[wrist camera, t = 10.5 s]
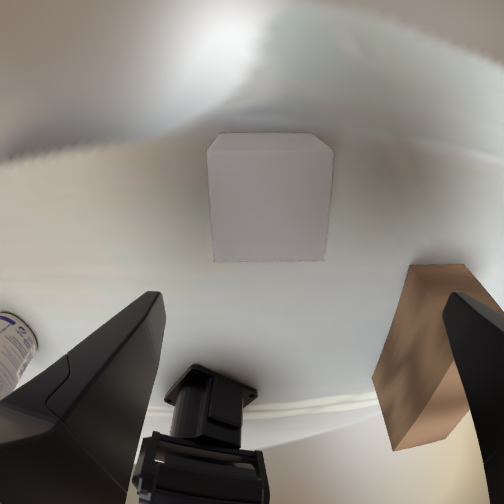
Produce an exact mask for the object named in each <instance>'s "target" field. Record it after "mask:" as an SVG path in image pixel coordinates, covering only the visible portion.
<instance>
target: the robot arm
mask: <svg viewBox="0 0 504 504" xmlns="http://www.w3.org/2000/svg"><path fill="white" fill-rule="evenodd" d="M442 319H443V322H444V326H445V329H446V333H447V336H448V340H449V344H450V348H451V351H452V355H453V358H454V361H455V364H456V367H457V370H458V373H459V376H460V379H461V382H462V385H463V388H464V391H465V395H466V398H467V401H468V404H469V408H470V411H471V415H472V418H473V422H474V426H475V430H476V434H477V438H478V442H479V446H480V450H481V455H482V459H483V463H484V470H485V474H486V480H487V486H488V492H489V499H490V504H504V316H502V315H501V314H499V313H498V312H496V311H494V310H493V309H491V308H489V307H488V306H486V305H484V304H483V303H481V302H479V301H478V300H476V299H474V298H473V297H471V296H469V295H468V294H466V293H464V292H462V291H454V292H451V293H450V295H449V297H448V300H447V302H446V305H445V307H444V309H443V313H442ZM165 323H166V313H165V307H164V302H163V296H162V294H161V293H160V292H157V291H147V292H145V293H144V294H143V295H141V296H140V297H139V298H137V299H136V300H135V301H134V302H132V303H131V304H130V305H128V306H127V307H126V308H124V309H123V310H122V311H120V312H119V313H118V314H116V315H115V316H114V317H113V318H111V319H110V320H109V321H107V322H106V323H105V324H103V325H102V326H101V327H100V328H98V329H97V330H96V331H94V332H93V333H92V334H91V335H89V336H88V337H87V338H85V339H84V340H83V341H82V342H80V343H79V344H78V345H77V346H75V347H74V348H73V349H71V350H70V351H69V352H68V353H67V354H65V355H64V356H62V357H61V358H60V359H59V360H57V361H56V362H55V363H54V364H52V365H51V366H50V367H48V368H47V369H46V370H44V371H43V372H41V373H40V374H39V375H37V376H36V377H34V378H33V379H31V380H30V381H28V382H27V383H25V384H24V385H22V386H21V387H19V388H18V389H16V390H15V391H13V392H12V393H10V394H9V395H7V396H6V397H4V398H3V399H1V400H0V504H125V502H126V497H127V491H128V487H129V482H130V477H131V473H132V469H133V464H134V460H135V456H136V451H137V447H138V443H139V439H140V435H141V431H142V427H143V423H144V419H145V415H146V411H147V407H148V403H149V400H150V396H151V392H152V388H153V385H154V381H155V377H156V374H157V370H158V366H159V360H160V354H161V347H162V341H163V335H164V329H165ZM257 397H258V392H257V390H255V389H252V388H250V387H247V386H245V385H242V384H240V383H237V382H235V381H232V380H230V379H228V378H225V377H223V376H220V375H218V374H216V373H213V372H211V371H209V370H206V369H204V368H202V367H200V366H197V365H193V366H191V367H190V368H189V369H188V370H187V372H186V373H185V374H184V375H183V376H182V377H181V378H180V379H179V381H178V382H177V383H176V384H175V385H174V386H173V387H172V388H171V390H170V391H169V392H168V393H167V394H166V395H165V398H164V401H165V402H166V403H168V404H171V405H173V406H175V409H174V414H173V419H172V425H171V430H170V435H169V436H168V435H164V434H160V432H156V431H153V434H152V437H147V438H143V441H142V445H141V450H140V454H139V457H138V461H137V464H136V467H135V471H134V474H133V479H132V483H133V485H134V486H135V487H136V489H137V490H138V492H137V494H138V495H140V497H139V504H269V501H270V491H269V484H268V479H267V475H266V469H265V464H264V458H263V453H262V451H258V450H255V451H249V450H242V449H239V448H241V428H242V424H243V408H244V407H245V406H247V405H248V404H249V403H250V402H252V401H253V400H254V399H256V398H257ZM155 460H159V461H163V462H164V463H161V462H157V461H155Z"/></svg>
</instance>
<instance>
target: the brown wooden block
mask: <svg viewBox="0 0 504 504" xmlns="http://www.w3.org/2000/svg"><path fill="white" fill-rule="evenodd" d="M454 291H462V292H464V293H466V294H468V295H469V296H471V297H473V298H474V299H476V300H478V301H479V302H481V303H483V304H484V305H486V306H488V307H489V308H491V309H493V310H494V311H496V312H498V313H499V314H501V315H502V316H504V312H503V310H502V309H501V308H500V307H499V305H498V304H497V303H496V302H495V300H494V299H493V298H492V297H491V295H490V294H489V293H488V292H487V291H486V289H485V288H484V287H483V286H482V285H481V283H480V282H479V281H478V280H477V279H476V278H475V277H474V275H473V274H472V273H471V272H470V271H469V270H468V269H467V267H466V266H465V265H464V264H450V265H409V269H408V273H407V276H406V280H405V283H404V287H403V290H402V294H401V297H400V300H399V303H398V307H397V310H396V313H395V316H394V319H393V322H392V325H391V328H390V331H389V334H388V336H387V339H386V342H385V345H384V348H383V350H382V353H381V356H380V358H379V361H378V363H377V366H376V369H375V371H374V374H373V376H372V380H373V384H374V387H375V390H376V393H377V397H378V400H379V403H380V407H381V410H382V414H383V417H384V421H385V424H386V428H387V431H388V435H389V438H390V442H391V446H392V450H393V451H398V450H402V449H407V448H412V447H416V446H420V445H424V444H428V443H432V442H436V441H439V440H443V439H445V438H446V437H447V436H448V435H449V434H450V433H451V431H452V430H453V429H454V428H455V427H456V425H457V424H458V423H459V422H460V421H461V419H462V418H463V417H464V416H465V415H466V413H467V412H468V411H469V409H470V408H469V404H468V401H467V398H466V395H465V391H464V388H463V385H462V382H461V379H460V376H459V373H458V370H457V367H456V364H455V361H454V358H453V355H452V351H451V348H450V344H449V340H448V336H447V333H446V329H445V326H444V322H443V319H442V313H443V309H444V307H445V305H446V302H447V300H448V297H449V295H450V293H451V292H454Z"/></svg>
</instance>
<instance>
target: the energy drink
mask: <svg viewBox="0 0 504 504" xmlns="http://www.w3.org/2000/svg"><path fill="white" fill-rule="evenodd" d="M36 349H37V344H36V340H35V337H34V335H33V333H32V332H31V330H30V329H29V328H28V326H27V325H26V324H25V323H24V322H22V321H21V320H20V319H19V318H17V317H16V316H14V315H12V314H8V313H0V400H1V399H3V398H4V397H6V396H7V395H9V394H10V393H12V392H13V391H14V389H15V387H16V385H17V383H18V381H19V380H20V378H21V376H22V374H23V372H24V371H25V369H26V367H27V366H28V364H29V362H30V360H31V359H32V357H33V355H34V354H35V352H36Z"/></svg>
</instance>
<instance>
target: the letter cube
mask: <svg viewBox="0 0 504 504" xmlns="http://www.w3.org/2000/svg"><path fill="white" fill-rule="evenodd" d="M206 153H207V171H208V188H209V203H210V218H211V232H212V245H213V257H214V262H266V261H324V260H325V251H326V242H327V232H328V221H329V210H330V199H331V186H332V172H333V156H334V151H333V150H331V149H330V148H329V147H328V146H327V145H326V144H325V143H323V142H322V141H321V140H320V139H319V138H318V137H316V136H315V135H314V134H313V133H271V132H260V133H219V134H218V136H217V137H216V138H215V140H214V141H213V143H212V144H211V145H210V147H209V148H208V150H207V151H206Z"/></svg>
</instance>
